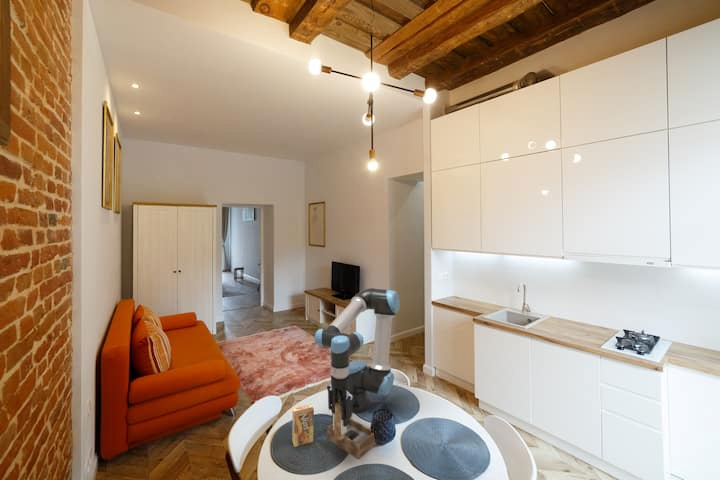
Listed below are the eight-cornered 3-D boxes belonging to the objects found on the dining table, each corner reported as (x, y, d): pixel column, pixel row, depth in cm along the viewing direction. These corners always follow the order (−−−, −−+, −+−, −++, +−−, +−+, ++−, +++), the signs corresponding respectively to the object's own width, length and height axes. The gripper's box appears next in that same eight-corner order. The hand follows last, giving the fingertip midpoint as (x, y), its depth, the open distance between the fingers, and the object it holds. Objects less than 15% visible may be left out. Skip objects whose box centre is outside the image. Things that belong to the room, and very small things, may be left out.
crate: (327, 438, 137) (327, 426, 136) (345, 426, 146) (345, 415, 146) (358, 459, 124) (358, 446, 124) (375, 444, 133) (376, 432, 133)
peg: (332, 436, 123) (333, 403, 123) (339, 431, 126) (339, 399, 126) (339, 441, 121) (339, 407, 120) (346, 436, 124) (346, 403, 123)
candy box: (310, 436, 138) (311, 403, 138) (313, 442, 134) (314, 408, 134) (291, 441, 134) (292, 408, 134) (294, 448, 130) (294, 413, 130)
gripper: (319, 371, 125) (319, 425, 126) (348, 385, 114) (348, 444, 115) (332, 365, 131) (332, 417, 132) (361, 378, 120) (361, 434, 121)
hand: (339, 430), depth 123 cm, fingers closed on peg, 4 cm apart
